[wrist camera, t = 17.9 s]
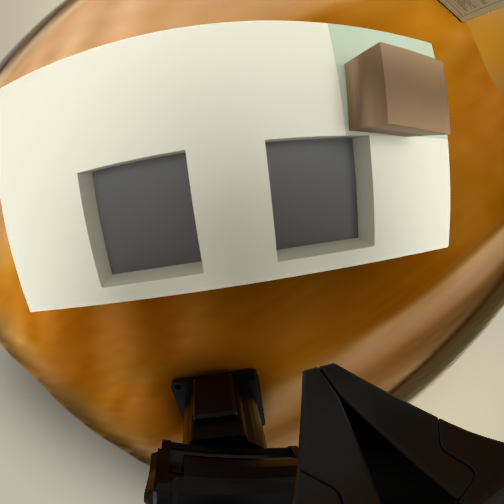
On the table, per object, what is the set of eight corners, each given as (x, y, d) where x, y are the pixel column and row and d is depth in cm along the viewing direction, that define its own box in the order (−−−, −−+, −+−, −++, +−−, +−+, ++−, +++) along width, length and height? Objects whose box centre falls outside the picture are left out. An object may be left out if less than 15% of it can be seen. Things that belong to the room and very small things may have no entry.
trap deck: (427, 238, 20) (448, 246, 18) (46, 296, 17) (30, 311, 15) (411, 51, 16) (431, 43, 14) (14, 96, 13) (-6, 91, 11)
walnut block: (406, 136, 15) (450, 134, 12) (349, 130, 15) (388, 123, 11) (401, 75, 14) (442, 61, 10) (344, 64, 14) (379, 41, 10)
